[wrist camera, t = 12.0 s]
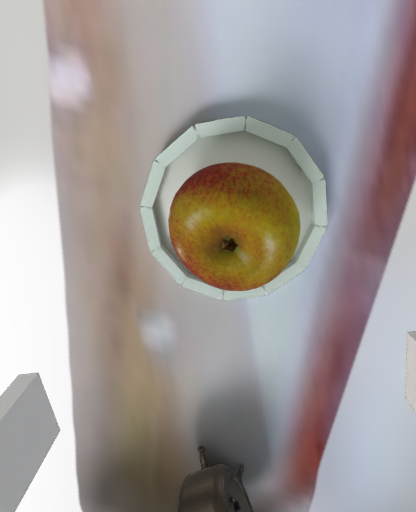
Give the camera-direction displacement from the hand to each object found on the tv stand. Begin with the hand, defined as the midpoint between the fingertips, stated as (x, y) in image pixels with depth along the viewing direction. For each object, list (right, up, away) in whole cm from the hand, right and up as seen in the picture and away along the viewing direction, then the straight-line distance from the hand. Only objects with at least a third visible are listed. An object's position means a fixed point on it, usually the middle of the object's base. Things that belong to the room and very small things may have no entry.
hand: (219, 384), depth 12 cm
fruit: (+2, +8, +17) cm, 19 cm away
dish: (+2, +8, +17) cm, 19 cm away
